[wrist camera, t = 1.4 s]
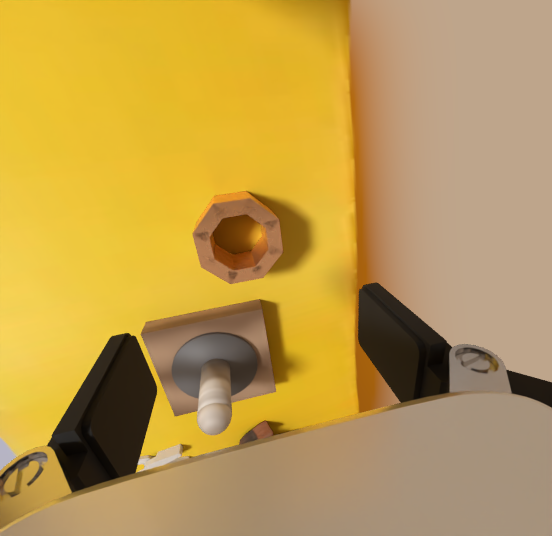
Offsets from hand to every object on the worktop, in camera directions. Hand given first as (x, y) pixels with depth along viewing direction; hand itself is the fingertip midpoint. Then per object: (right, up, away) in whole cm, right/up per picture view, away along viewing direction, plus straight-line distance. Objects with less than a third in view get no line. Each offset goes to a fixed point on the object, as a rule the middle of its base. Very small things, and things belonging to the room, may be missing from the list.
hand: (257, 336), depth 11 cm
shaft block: (-6, -7, +20) cm, 22 cm away
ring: (-3, +6, +14) cm, 16 cm away
